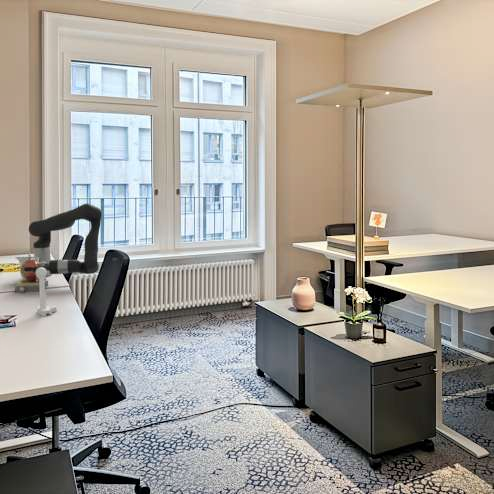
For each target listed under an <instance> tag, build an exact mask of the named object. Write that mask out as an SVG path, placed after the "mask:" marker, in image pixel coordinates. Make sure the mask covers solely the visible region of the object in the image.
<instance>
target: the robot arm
mask: <svg viewBox="0 0 494 494" xmlns="http://www.w3.org/2000/svg"><path fill="white" fill-rule="evenodd" d="M79 220H85V221H87V222H90V229H89V232H88V234H87V235H86V237H85V239H84V257H83V261H80V260H79V259H51V257H52V256H51V242H52V232H54V231H56V232H57V231H62V230H66V229H69V228H71V227H72V226H74V224H75V222H76V221H79ZM101 221H102V209H101V208H99V207H98V206H95V205H94V204H91V203H84V204H83V203H82V204H81V205H79V206H76V207H75V208H73V209H70V210H68V211H64V212H60V213H58V214H55V215H53V216H50V217H48V218H45V219H41V220H36V221H32V222H31V223H30V224H29V225H28V232H29V234H30V235H31V236H33V237H37V238H38V239H37V240H36V241H34V243H33V244H32V245H33V257H39V262H42V261H44V262H46V263H44V264H37V266H35V267H25V268H24V271H25V272H27V271H32V272H36V270H35V268H37V269H38V268H40V267H43V268H45V269H46V271H47V270H48V271H47V274H46V276H45V277H49V276H52V275H65V274H75V273H78V274H79V273H80V274H86V275H91V274H95V273H97V272H98V271H99V268H100V266H99V262H98V253H99V233H100V230H101V229H100V228H101Z"/></svg>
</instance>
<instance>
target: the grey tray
mask: <svg viewBox="0 0 494 494" xmlns="http://www.w3.org/2000/svg"><path fill="white" fill-rule="evenodd" d="M44 284H45V290H46V289H47V288H48V287H49V280H47V278H44ZM14 292H15V293H25V292H40V287H39V278H38V281H37V282H26V279H24V280H23V279H21V280H20V281H19V282H17V283H16V285H15V286H14Z"/></svg>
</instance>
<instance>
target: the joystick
mask: <svg viewBox="0 0 494 494" xmlns="http://www.w3.org/2000/svg"><path fill="white" fill-rule="evenodd" d="M46 274H47V271H46V269H45V268H43V267H40V268H38V269H37V270H36V275H37V276H38V277H39V278H38V279H39V287H40V291H39V305H37V314H38V315H40V316H42V317H46V316H47V315H52V313H56V312H57V305H50V306H48V305H47V298H46V297H47V296H46V289H45V284H44V279H45V277H47V276H46Z"/></svg>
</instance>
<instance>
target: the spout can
mask: <svg viewBox="0 0 494 494" xmlns="http://www.w3.org/2000/svg"><path fill="white" fill-rule="evenodd" d="M27 257H29V259H26V261H25V267H35V266H37V264H36V260H35V259H34V258H31V257H32V255H31V253H28V255H27ZM35 270H37V268H35ZM38 279H39V278H37V275H36V272H32V271H27V272H26V282H37V281H38Z"/></svg>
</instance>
